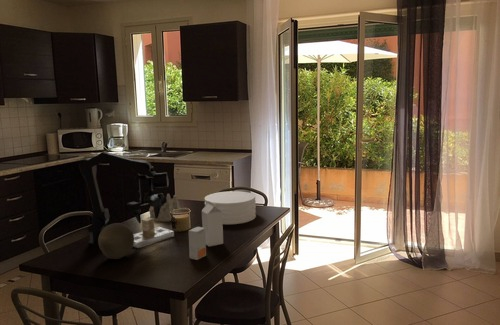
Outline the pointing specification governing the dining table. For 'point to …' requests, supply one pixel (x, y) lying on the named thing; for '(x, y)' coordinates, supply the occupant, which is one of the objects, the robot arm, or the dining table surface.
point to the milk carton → (212, 224)
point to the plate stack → (234, 206)
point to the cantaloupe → (116, 240)
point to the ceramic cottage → (165, 209)
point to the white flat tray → (152, 237)
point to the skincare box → (197, 243)
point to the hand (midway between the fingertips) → (148, 220)
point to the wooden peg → (148, 227)
